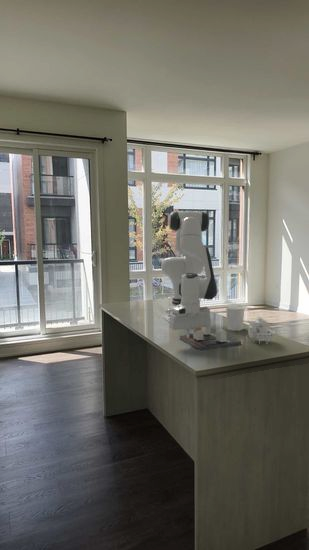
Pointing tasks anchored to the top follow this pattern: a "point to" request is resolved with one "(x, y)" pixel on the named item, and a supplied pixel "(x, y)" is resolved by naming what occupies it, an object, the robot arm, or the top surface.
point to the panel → (209, 341)
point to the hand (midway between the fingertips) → (190, 337)
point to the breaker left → (206, 330)
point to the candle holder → (235, 317)
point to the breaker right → (221, 335)
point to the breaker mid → (198, 334)
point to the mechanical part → (260, 330)
